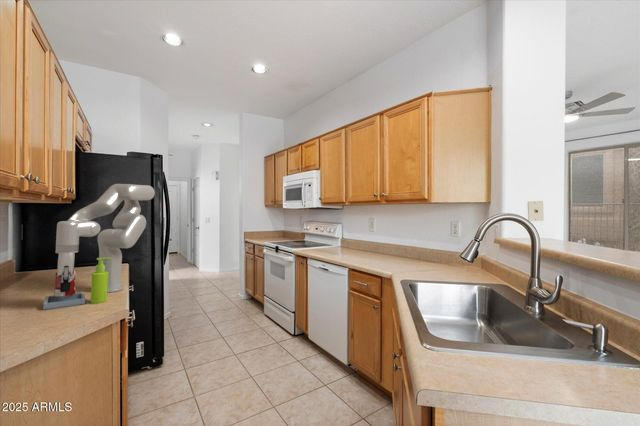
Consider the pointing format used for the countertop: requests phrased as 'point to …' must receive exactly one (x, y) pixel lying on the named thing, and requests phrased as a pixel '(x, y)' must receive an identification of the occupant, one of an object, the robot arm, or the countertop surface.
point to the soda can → (58, 284)
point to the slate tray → (64, 301)
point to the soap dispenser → (99, 283)
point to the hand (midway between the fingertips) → (65, 289)
